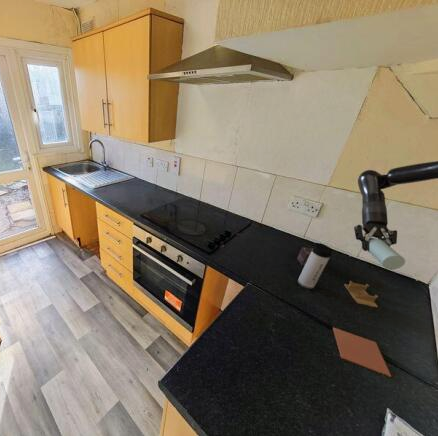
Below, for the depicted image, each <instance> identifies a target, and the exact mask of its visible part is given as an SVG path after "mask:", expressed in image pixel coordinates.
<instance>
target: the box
mask: <svg viewBox="0 0 438 436" xmlns="http://www.w3.org/2000/svg"><path fill="white" fill-rule="evenodd" d="M312 250H313V248H312V247H302V246H301V248H300V251H299V253H298V255H297V256H296V257H297V258H296V259H297V261H298V262H299V263H300V265H301V266H302V267H304V266H305V264H306V262H307V260H308V258H309V256H310V254H311V252H312Z"/></svg>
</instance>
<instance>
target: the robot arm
mask: <svg viewBox="0 0 438 436" xmlns="http://www.w3.org/2000/svg"><path fill="white" fill-rule="evenodd" d="M385 174H386V175H385ZM385 174H382V173H380V172H378V171H377V170H373V169H367V170H364V171H362V172H361V173H360V174H359V175H358V178H357V185H358V188H359V191H360V194H361V204H362V206H361V217H362V218H361V224H357V225H355V226H353V230H354V235H355V239H356V240H358V241H360V242H361V249H362V250H363V251H364V252H368V250H369V241H368V240H369V239H370V238H375V239H380V240H382V241H384V242H385V243H386V244H387V245H388V246H390V247H391V246H393V245H397V242H398V230H396V229H394V230H391V229H389V228H388V223H389V222H388V210H387V209H388V208H387V205H386V196H385V192H384V191H383V190H385V189H388V188H391V187H394V186H397V185H405V184H413V183H418V182H426V181H431V180H436V179H438V160H435V161H428V162H427V161H426V162H420V163H414V164H409V165H403V166H397V167H394V168H390V169H389V170H388V171H387V173H385ZM363 233H364V234H363Z"/></svg>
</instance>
